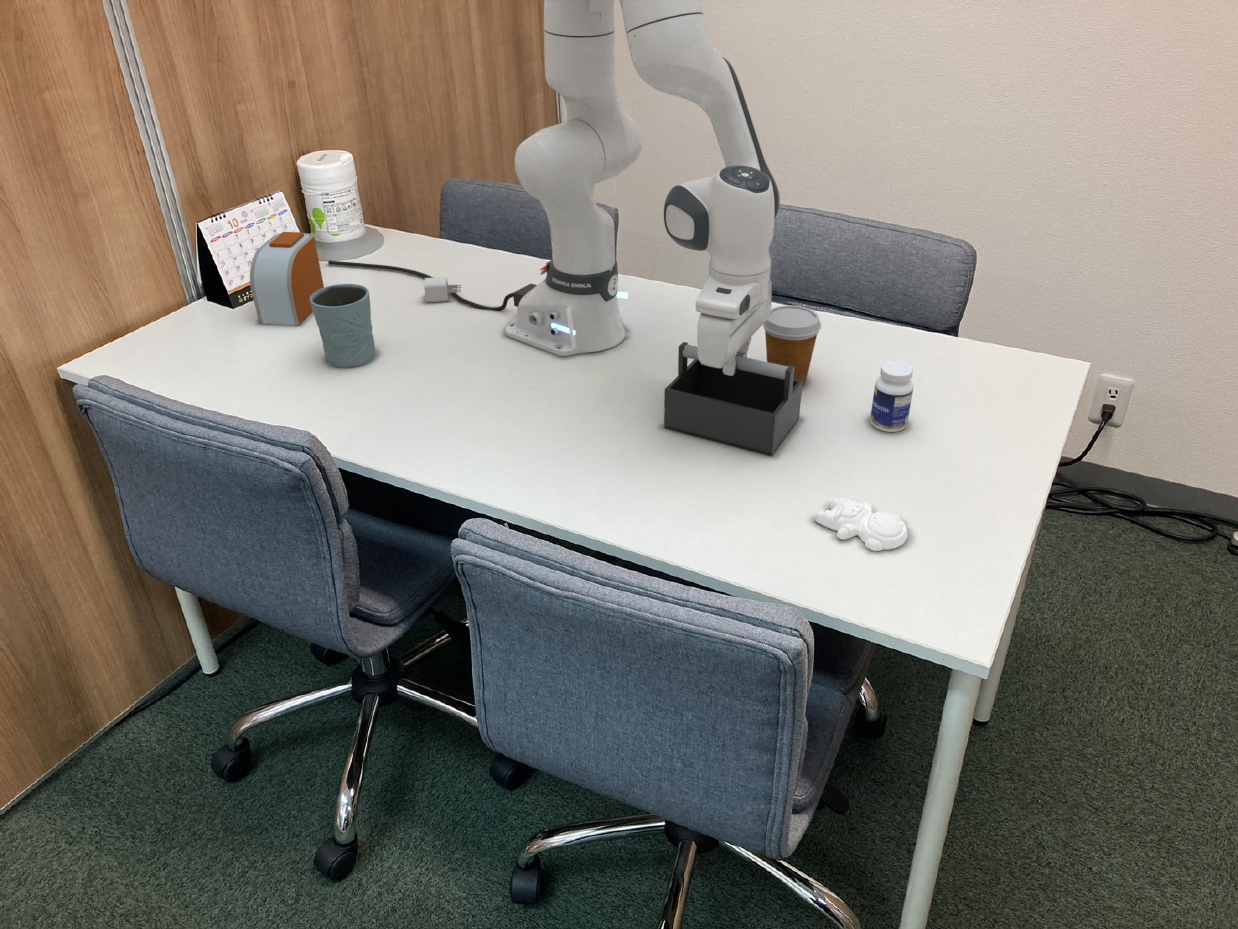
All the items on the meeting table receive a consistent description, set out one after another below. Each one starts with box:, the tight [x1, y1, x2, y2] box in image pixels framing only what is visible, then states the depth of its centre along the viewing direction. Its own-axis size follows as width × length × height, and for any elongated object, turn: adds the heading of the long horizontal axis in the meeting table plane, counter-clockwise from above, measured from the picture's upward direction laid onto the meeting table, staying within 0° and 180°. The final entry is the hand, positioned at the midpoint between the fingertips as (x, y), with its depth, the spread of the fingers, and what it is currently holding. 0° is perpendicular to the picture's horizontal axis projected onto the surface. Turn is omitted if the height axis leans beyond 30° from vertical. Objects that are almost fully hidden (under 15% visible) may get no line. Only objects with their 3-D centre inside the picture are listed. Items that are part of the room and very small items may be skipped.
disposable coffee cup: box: [762, 304, 822, 388], centre depth 164 cm, size 10×10×12 cm
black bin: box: [663, 341, 803, 457], centre depth 153 cm, size 18×12×12 cm, turn 62°
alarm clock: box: [249, 231, 325, 326], centre depth 191 cm, size 15×8×14 cm, turn 172°
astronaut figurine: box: [814, 497, 908, 552], centre depth 132 cm, size 9×12×3 cm
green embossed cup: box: [310, 283, 376, 369], centre depth 174 cm, size 10×10×12 cm
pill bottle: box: [869, 360, 914, 433], centre depth 153 cm, size 6×6×10 cm
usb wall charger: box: [423, 276, 462, 303], centre depth 197 cm, size 4×7×4 cm, turn 96°
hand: (734, 368), depth 151 cm, fingers closed
